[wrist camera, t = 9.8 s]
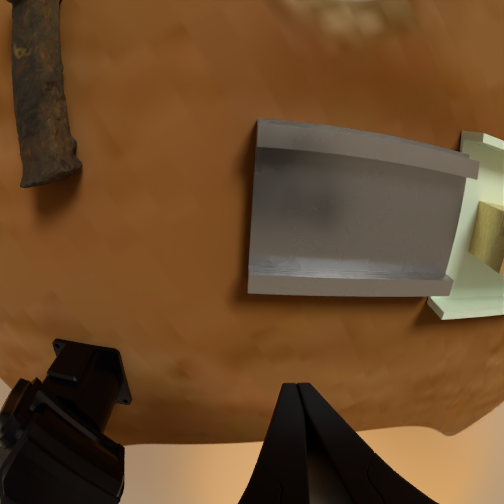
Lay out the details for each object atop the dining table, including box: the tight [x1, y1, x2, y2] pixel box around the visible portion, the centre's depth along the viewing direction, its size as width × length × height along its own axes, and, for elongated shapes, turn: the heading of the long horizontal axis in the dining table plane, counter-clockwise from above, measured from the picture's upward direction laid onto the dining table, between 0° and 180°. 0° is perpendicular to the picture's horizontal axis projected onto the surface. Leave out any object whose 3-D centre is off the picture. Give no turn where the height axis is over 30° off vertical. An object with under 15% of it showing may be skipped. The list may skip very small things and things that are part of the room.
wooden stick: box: [7, 0, 82, 188], centre depth 12 cm, size 19×4×5 cm, turn 6°
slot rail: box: [247, 119, 480, 297], centre depth 18 cm, size 10×14×2 cm
